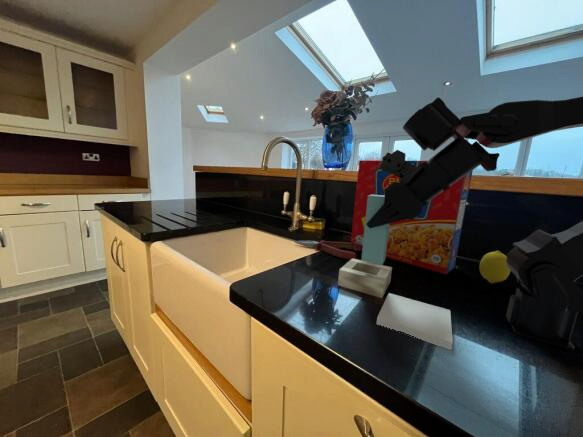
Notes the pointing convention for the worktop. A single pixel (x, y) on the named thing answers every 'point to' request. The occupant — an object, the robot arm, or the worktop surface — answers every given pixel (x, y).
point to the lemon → (494, 267)
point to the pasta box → (415, 221)
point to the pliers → (333, 248)
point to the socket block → (365, 277)
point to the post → (374, 233)
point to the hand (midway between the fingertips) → (370, 224)
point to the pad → (417, 320)
